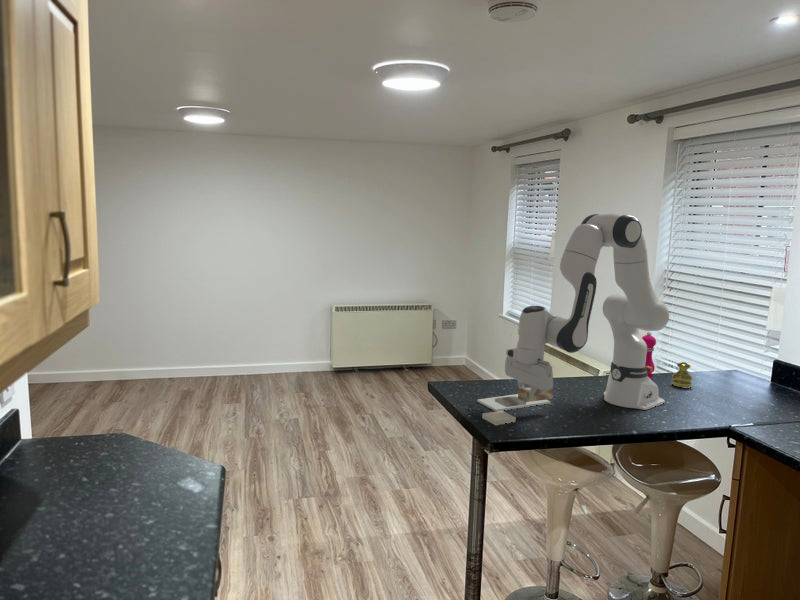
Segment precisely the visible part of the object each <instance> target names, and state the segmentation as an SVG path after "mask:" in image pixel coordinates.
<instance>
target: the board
mask: <svg viewBox="0 0 800 600" xmlns="http://www.w3.org/2000/svg"><path fill="white" fill-rule="evenodd" d="M510 396H516V397H518V393H516V394H509V395H503V396H501V395H500V396H492V397H487V398H479V399H477V400H476V402H477V403H479V404H481V405H482V406H484V407H486V408H488V409H491V410H492V411H493V412H496V411H504V410H505V411H511V409H512V410H518V409H523V408H524V407H525V408H529V407H530V406H532V407H537V406H536V405H538V406H542V405H544V404H545V405H551V401H550V400H549V399H547V400H539V401H532V402H526V405H519V406H512V407H505V406H503V405H501V404H499V403H497V402H495V398H503V397H510ZM545 405H544V406H545ZM517 408H518V409H517ZM530 408H531V407H530ZM505 411H504V412H505Z"/></svg>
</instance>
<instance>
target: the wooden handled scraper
mask: <svg viewBox="0 0 800 600" xmlns="http://www.w3.org/2000/svg"><path fill="white" fill-rule="evenodd" d="M530 390H531V389H530V387H525V388H522V389H519V388H518V393H517V394H518V397H516V396H510V397H503V398H495V402H497V403H499V404H501V405H503V406H505V407H512V406H519V405H526V402H532V401H539V400H551V399H553V396H554V387H553V388H552V389H551V390H549V391H542V390H539V389H537V390H536V392H535V393H534V398H532V399H530V398H528V397H527V392H530Z"/></svg>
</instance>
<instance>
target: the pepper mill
mask: <svg viewBox="0 0 800 600" xmlns="http://www.w3.org/2000/svg"><path fill="white" fill-rule="evenodd" d="M641 338H642V339H643V340H644V341H645V343H646V345H647V354H646V362H645V366H646V367H647V366H649V367H653V371H652V372H648V371H647V374H648V377H649V378H650V379H651V380H653V373H654V372H655V370H656V369H655V363H654V360H653V352H654V351H655V346H656V345H657V340H656V338H655V337H654V335H652V331H648V332H647V331H646V335H642V336H641Z"/></svg>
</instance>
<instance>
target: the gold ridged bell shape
mask: <svg viewBox="0 0 800 600" xmlns="http://www.w3.org/2000/svg"><path fill="white" fill-rule="evenodd" d="M676 366H677V367H678V369H679V370H678V371H676V372H675V373H673V374H672V375H671V376H672V379H671V385H672V384H673V385H674V386H678V387H687V388H688V387H691V388H692V381H693V376H692V375H690V373H689V372H688V370H689V369H690V368H691V364H689V363H687V362H684V361H681V362H678V363H677V364H676ZM674 386H673V387H674Z"/></svg>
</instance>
